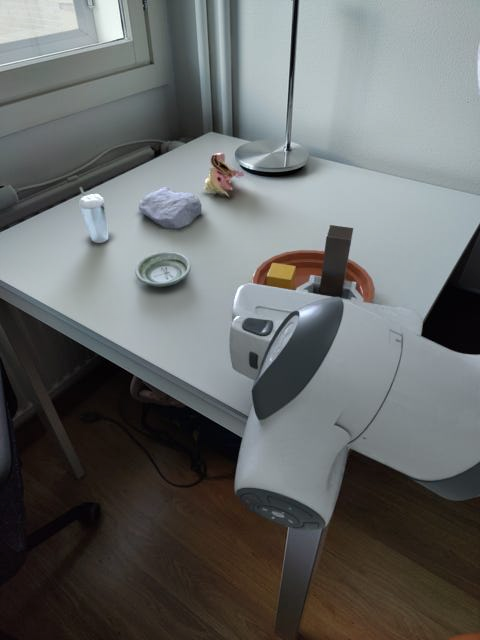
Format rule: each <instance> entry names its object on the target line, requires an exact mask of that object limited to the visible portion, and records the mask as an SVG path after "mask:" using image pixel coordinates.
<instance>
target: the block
mask: <svg viewBox="0 0 480 640" xmlns="http://www.w3.org/2000/svg"><path fill="white" fill-rule="evenodd" d="M295 272H296V266H292V265H285V264H278V263H272V265H271V267H270V270H269V272H268V275H267V286H271V287H277V288H283V289H289V290H293V288H294V285H295Z"/></svg>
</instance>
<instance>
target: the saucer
mask: <svg viewBox="0 0 480 640" xmlns="http://www.w3.org/2000/svg"><path fill="white" fill-rule="evenodd" d="M191 268H192V264H191V262H190V260H189V258H188V257H186V256H185V255H183V254H181V253H179V252H174V251H159V252H155V253H152V254H149V255H146V256H145V257H143V258H142V259H140V261H138V262H137V264H136V265H135V269H134V274H135V276H136V278H137V279H138V280H139V281H140V282H141V283H143V284H146V285H149V286H153V287H159V288H160V287H169V286H173V285H175V284H178V283H179V282H181V281H182V280H184V279H186V277H187V276H188V275H189V273H190V272H191Z"/></svg>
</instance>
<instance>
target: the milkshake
mask: <svg viewBox="0 0 480 640" xmlns="http://www.w3.org/2000/svg"><path fill="white" fill-rule="evenodd" d="M79 190H80V193H81V195H82V197H81V198H80V199H79V201H78V205H79V208H80V211H81V213H82V216H83V219H84V221H85V224H86V227H87V230H88V234H89V236H90V238H91V241H92V242H93V243H94V244H102V243H105V242H107V241H108V240H109V231H108V230H109V229H108V222H107V217H106V208H105V199H104V197H102V196H101V195H100V194H98V193H95V194H94V193H93V194H92V193H91V194H88V195H86V194H85V191H84V189H83V187H82V186H80V187H79Z"/></svg>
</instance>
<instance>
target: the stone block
mask: <svg viewBox="0 0 480 640" xmlns="http://www.w3.org/2000/svg"><path fill="white" fill-rule="evenodd" d="M202 207H203V205H202V203H201V200H200V198H199V197H198V196H196V195H194V194H193V193H189V192H176V191H174V190H172V189H170V188H169V187H167V186H164V187H162V188H160V189H158V190H155V191H152V192H151V193H148V194H147V195H145V196H144V197H143V198H142V199H141V200H140V201H139V204H138V211H139V212H141V213H142V214H143V215H145V216H146V217H148V218H149V219H151V220H152V221H153V222H154V223H156V224H157V225H160V226H161V227H162V228H164V229H173V230H176V229H181V228H183V227H186V226H188V225H190V224H191V223H192V222H193V221H194V220H195V219H196V218H198V217H199V216H200V215H201V214H202Z"/></svg>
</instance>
